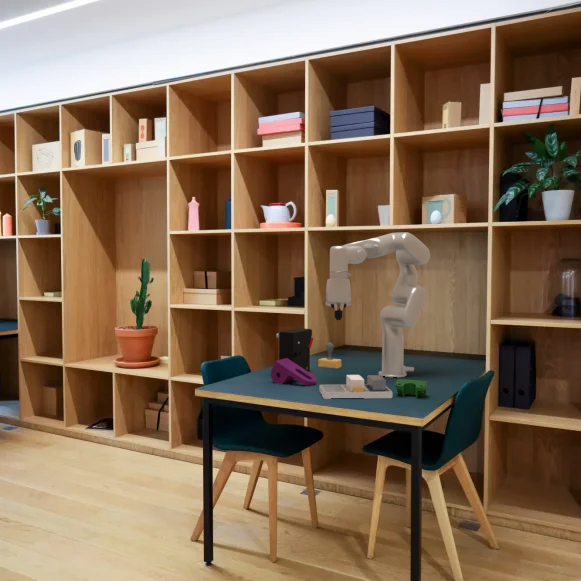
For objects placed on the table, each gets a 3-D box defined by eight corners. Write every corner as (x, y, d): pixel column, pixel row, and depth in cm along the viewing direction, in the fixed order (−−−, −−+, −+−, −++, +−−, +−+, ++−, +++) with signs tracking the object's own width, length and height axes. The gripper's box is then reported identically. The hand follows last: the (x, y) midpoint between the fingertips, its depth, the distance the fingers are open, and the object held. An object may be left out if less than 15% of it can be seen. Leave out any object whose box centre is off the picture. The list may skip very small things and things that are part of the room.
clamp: (400, 407, 238) (390, 386, 237) (403, 400, 244) (393, 380, 243) (429, 398, 233) (419, 377, 232) (431, 391, 239) (421, 371, 238)
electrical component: (294, 369, 292) (294, 327, 291) (313, 372, 287) (313, 329, 286) (274, 376, 277) (274, 331, 276) (294, 378, 272) (294, 333, 271)
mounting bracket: (312, 396, 264) (279, 374, 271) (319, 379, 261) (286, 357, 269) (301, 400, 255) (268, 377, 263) (309, 383, 253) (275, 360, 261)
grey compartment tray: (383, 390, 248) (383, 374, 248) (392, 398, 234) (392, 381, 234) (319, 391, 246) (319, 374, 246) (324, 399, 232) (324, 381, 232)
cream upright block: (346, 390, 245) (346, 374, 245) (358, 389, 245) (358, 374, 245) (351, 395, 235) (351, 379, 235) (364, 395, 236) (364, 379, 235)
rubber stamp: (318, 366, 302) (318, 342, 301) (323, 365, 307) (323, 341, 306) (336, 368, 297) (337, 343, 296) (341, 366, 302) (341, 342, 302)
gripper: (354, 275, 262) (354, 318, 263) (319, 275, 261) (319, 319, 262) (358, 276, 254) (357, 320, 255) (322, 276, 253) (321, 320, 254)
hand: (338, 319), depth 258 cm, fingers closed
